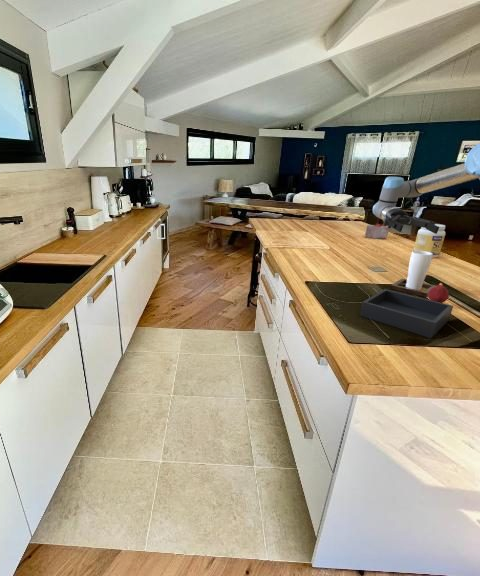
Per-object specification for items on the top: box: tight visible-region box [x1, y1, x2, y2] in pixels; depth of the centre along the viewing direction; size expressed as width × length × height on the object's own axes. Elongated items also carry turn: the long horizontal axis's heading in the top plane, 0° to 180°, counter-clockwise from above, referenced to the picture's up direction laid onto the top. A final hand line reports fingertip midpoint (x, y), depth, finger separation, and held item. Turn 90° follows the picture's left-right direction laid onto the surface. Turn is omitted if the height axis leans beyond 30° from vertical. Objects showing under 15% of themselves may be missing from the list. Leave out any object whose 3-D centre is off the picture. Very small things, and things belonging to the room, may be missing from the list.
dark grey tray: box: [359, 288, 454, 339], centre depth 101 cm, size 20×18×5 cm
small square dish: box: [389, 277, 437, 298], centre depth 126 cm, size 12×12×2 cm
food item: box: [364, 223, 390, 240], centre depth 216 cm, size 14×8×10 cm, turn 59°
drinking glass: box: [405, 250, 433, 291], centre depth 123 cm, size 7×7×15 cm
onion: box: [427, 282, 450, 303], centre depth 110 cm, size 6×6×8 cm
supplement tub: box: [412, 223, 446, 259], centre depth 170 cm, size 12×12×17 cm
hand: (419, 229), depth 124 cm, fingers open, 13 cm apart
